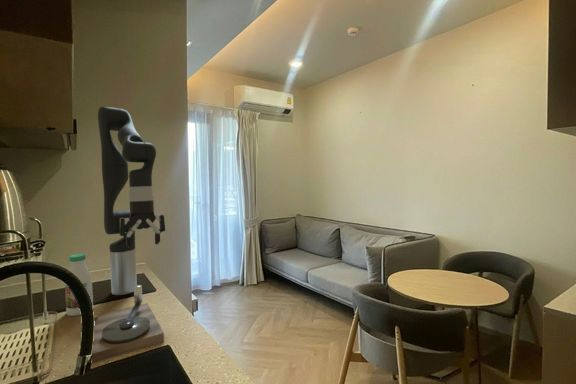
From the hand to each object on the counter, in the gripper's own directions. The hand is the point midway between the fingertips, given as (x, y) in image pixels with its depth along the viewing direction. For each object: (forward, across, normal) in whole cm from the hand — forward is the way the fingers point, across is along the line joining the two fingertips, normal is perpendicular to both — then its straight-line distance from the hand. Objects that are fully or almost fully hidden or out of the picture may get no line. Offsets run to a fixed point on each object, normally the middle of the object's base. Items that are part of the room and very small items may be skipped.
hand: (143, 245), depth 104 cm
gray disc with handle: (+21, +7, +13) cm, 25 cm away
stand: (+23, +9, +12) cm, 28 cm away
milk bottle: (+22, +19, -14) cm, 32 cm away
